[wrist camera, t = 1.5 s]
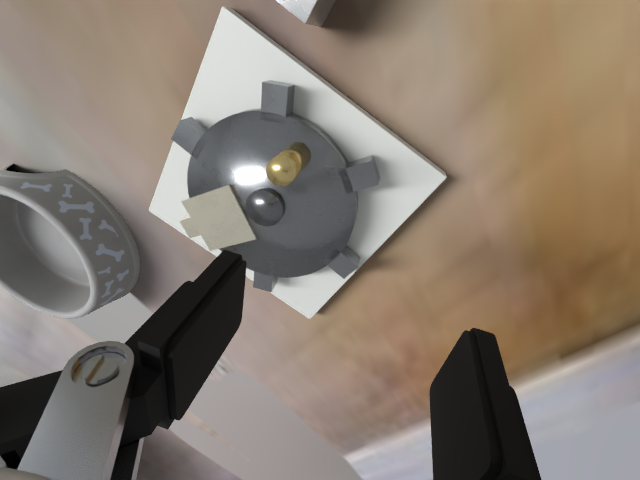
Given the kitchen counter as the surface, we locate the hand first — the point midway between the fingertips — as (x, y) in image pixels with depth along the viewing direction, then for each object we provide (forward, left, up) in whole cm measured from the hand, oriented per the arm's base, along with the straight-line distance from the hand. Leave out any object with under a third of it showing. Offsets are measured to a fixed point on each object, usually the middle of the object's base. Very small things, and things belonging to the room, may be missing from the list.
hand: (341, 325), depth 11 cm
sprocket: (+6, +7, -16) cm, 19 cm away
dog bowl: (+23, +29, -18) cm, 41 cm away
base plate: (+6, +7, -18) cm, 20 cm away
